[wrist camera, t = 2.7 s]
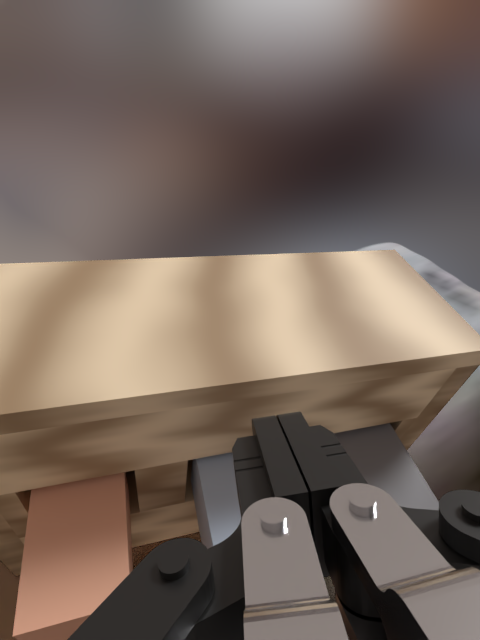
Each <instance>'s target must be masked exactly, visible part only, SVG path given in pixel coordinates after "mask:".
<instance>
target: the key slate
mask: <svg viewBox="0 0 480 640" xmlns="http://www.w3.org/2000/svg"><path fill="white" fill-rule="evenodd" d="M191 485H192V491H193V496H194V502H195V508H196V514H197V520H198V526H199V531H200V537H201V543H202V544H204V545H205V546H206V548H207V549H208V548H210V547H212V546H214V545H216V544H219V543H220V542H222V541H224V540H225V539H227V538H228V537H229V536H230V535H231V534H233V533H234V531H235V530H236V529H237V527H238V525H239V524H240V521H241V513H240V507H239V500H238V494H237V486H236V478H235V470H234V462H233V454H232V452H230V453H225V454H219V455H214V456H209V457H203V458H198V459H193V461H192V471H191Z"/></svg>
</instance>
